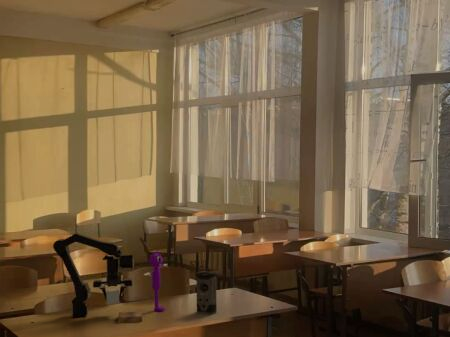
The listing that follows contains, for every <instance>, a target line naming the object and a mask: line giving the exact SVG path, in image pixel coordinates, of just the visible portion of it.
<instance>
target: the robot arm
mask: <svg viewBox="0 0 450 337" xmlns="http://www.w3.org/2000/svg"><path fill="white" fill-rule="evenodd" d="M74 243H78V244H82V245H84V246H88V247H90V248H94V249H97V250H99V251H101V252H103V253H104V254H105V255H104V257H103V258H102V260H103V261H106V281H105V280H104V281H102V279H94V280H93V283H92V288H94V289H95V288H98V290H101V292H102V293H103V296H104V299H105V301H106V302H107V295H106V292H107V289H106V288H107V287H117V286H118V285H120V287H119V301H121V298H122V295H123V293H124V292H123V291H125V290H124V289H127V287H132V286H133V279H132V278H123V280H122V275H120V274H119V273H120V271H119V270H120V269H119V267H120V268H121V269H134V268H135V260H134V259H135V258H134V254H124V253H123V252H122V251H121V250H120V247H119V244H118V243H117V242H112V241H105V240H104V241H103V240H98V239H97V238H93V237H89V236H87V235H83V234H81V233H78V232H75V233H73V234H72V235H70V236H68V237H66V238H60V239H58V240H56V241H55V242H53V245H52V248H53V250H54V251H55V253H56V254H57V255H58V256H59V257H60V258H61V261H62V262H63V264H64V266H65V268H66V269H65V270H67V273H68V275H69V277H70V279H71V281H72V283H73V286H74V287H73V288H74V293H75V296H74V298H73V299H72V300H71V303H72V316H71V318H86V317H87V315H88V305H87V300H88V299H89V297H90V296H91V288H90V286H89V283H88V282H84V281H83V279H82V278H81V275H80V273H79V271H78V269H77V267H76V265H75V263H74V260H73V258H72V256H71V252H70V245H72V244H74ZM106 286H107V287H106Z"/></svg>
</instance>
